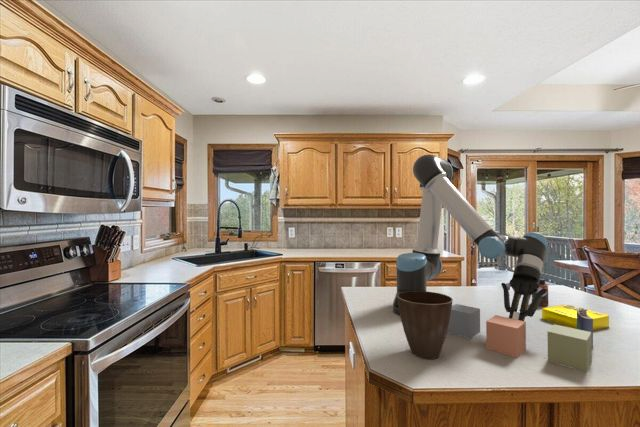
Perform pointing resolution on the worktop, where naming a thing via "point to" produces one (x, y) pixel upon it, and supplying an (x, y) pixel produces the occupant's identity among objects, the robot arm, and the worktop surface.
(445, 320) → the plant pot
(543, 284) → the supplement bottle
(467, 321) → the slate block
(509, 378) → the worktop surface
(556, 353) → the olive block
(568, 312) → the element tile
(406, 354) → the worktop surface
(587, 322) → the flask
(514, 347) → the terracotta block
